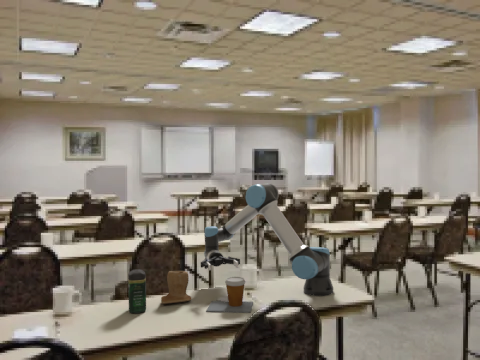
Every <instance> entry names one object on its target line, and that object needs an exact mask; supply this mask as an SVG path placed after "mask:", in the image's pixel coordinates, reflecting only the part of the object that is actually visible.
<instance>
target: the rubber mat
mask: <svg viewBox="0 0 480 360" xmlns="http://www.w3.org/2000/svg"><path fill="white" fill-rule="evenodd" d="M253 305H254V301H243V302H242V305H241V306H236V307H234V306H230V305H229V302H228V300H227V301H226V300H211V302H210V303H209V305H208V306H207V309H206V310H205V312H206V313H243V314H245V313H246V314H248V313H249V314H251V312H252V308H253Z"/></svg>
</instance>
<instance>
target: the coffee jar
mask: <svg viewBox="0 0 480 360" xmlns="http://www.w3.org/2000/svg"><path fill="white" fill-rule="evenodd" d="M127 278H128V279H127V280H128V281H127V282H128V285H127V286H128V311H129V313H131V314H140V313H144V312H146V310H147V278H146V271H144V270H143V269H140V268H139V269H136V268H135V269H132V270H130V271H129V272H128V274H127Z"/></svg>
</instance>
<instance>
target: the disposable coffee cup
mask: <svg viewBox="0 0 480 360" xmlns="http://www.w3.org/2000/svg"><path fill="white" fill-rule="evenodd" d="M224 282H225V285H226V287H225V288H226V293H227V299H228V300H227V301H228V302H229V305H230V306H234V307H236V306H241V305H242V302H244V290H245V284H246V280H245V278H244V277H242V276H229V277H227V278H226V279H225V281H224Z"/></svg>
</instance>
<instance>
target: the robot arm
mask: <svg viewBox="0 0 480 360" xmlns="http://www.w3.org/2000/svg"><path fill="white" fill-rule="evenodd" d="M279 196H280V195H279V190H278V188H277V187H276V186H275V185H274V184H272V183H256V184H252V185H250V186H249V187H248V188H247V190H246V192H245V201H246V204H247V205H245V207H244V208H242V209H241V210H240V211H239V212H238V213H236V214H235V215H233V217H232V218H230V219H229V220H228V221H227V222H226V223H225V224H224V225H223V226H222V227H219V228H218V226H214V225H213V226H212V225H211V226H206V227H205V228H204V233H203V234H204V252H203V255H204V257H205V258H204V259H203V260H202V261H200V268H204V270H208V271H212V266H213V267H220V266H221V265H233V266H234V267H235V268H239V265H241V259H240V258H238V257H232V256H227V257H225V256H224V255H223V254H222V253H221V252H220V248H219V245H220V244H219V243H220V242H224V241H228V240H231V239H232V238H233V237H234V236H235V234H236V233H237V232H238V231H240V229H241V230H242V228H243V227H244V226H245V225H246V224H248V223H249V222H251V221H252V220H253V219H254V218H255V217H256V216H257V215H260V216H261V215H262V216H263V217H264V219H265V220H266V222H268V224H269V226H270V227H271V229H272V231H273V232H274V233H275V235H276V236H277V238H278V239H279V241H280V242H281V244H282V245H283V247H284V248H285V250H286V251H287V252H288V254H289V258H288V260H289V261H290V263H291V271H292V272H293V274H294V275H295V276H296V277H297V279H301V280H305V282H304V285H303V293H305V294H307V295H310V296H314V297H315V296H316V297H325V296H331V295H332V294H334V286H333V283H332V280H331V276H330V275H331V273H330V272H331V269H330V265H331V263H330V259H331V258H330V256H331V255H330V249H329V248H327V247H323V246H322V247H320V246H309V245H307V244H304V243H303V241H302V240H301V238H300V237H299V235H298V234H297V232H296V230H294V228H293V226H292V225H291V224H290V222H289V220H288V219H287V218H286V216H285V215H284V213H283V212H282V211H281V209H280V207H279V206H278V199H279Z"/></svg>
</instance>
